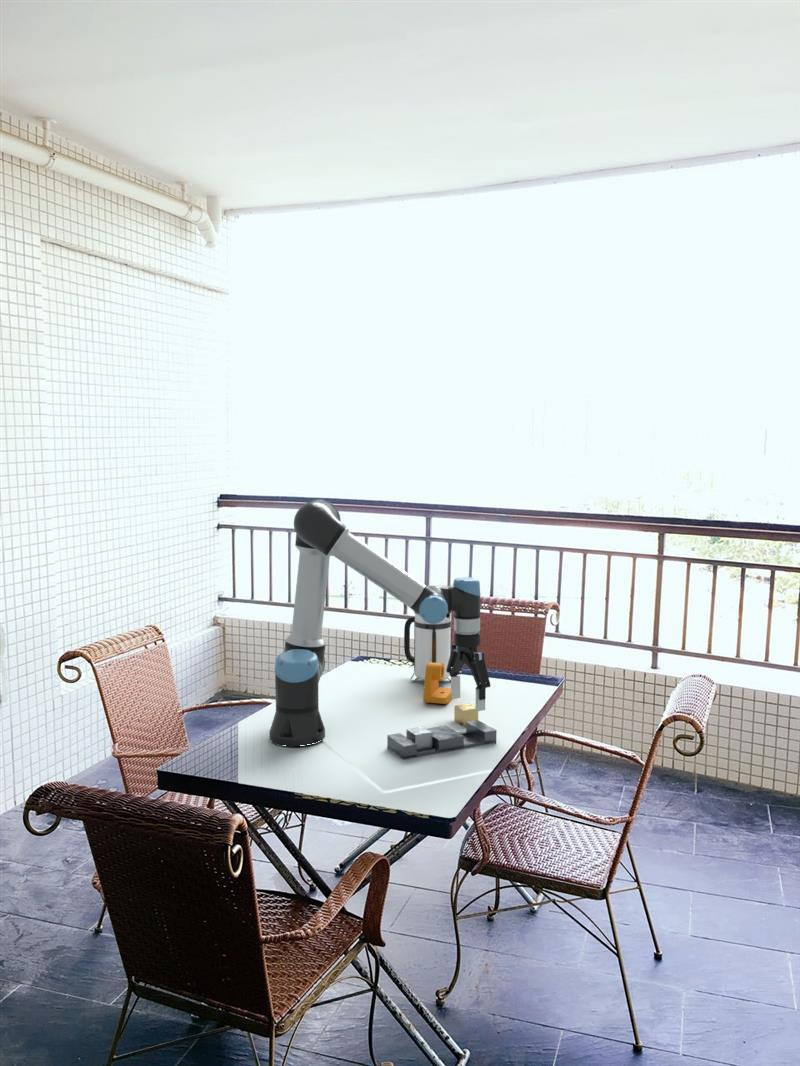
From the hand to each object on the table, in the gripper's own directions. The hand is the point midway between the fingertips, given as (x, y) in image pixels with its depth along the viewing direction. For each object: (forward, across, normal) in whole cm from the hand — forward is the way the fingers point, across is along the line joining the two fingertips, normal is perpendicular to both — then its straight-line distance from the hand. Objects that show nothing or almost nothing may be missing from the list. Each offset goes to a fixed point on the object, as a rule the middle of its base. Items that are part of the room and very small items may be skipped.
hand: (467, 704), depth 249 cm
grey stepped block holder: (+6, -14, +16) cm, 22 cm away
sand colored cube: (+6, 0, 0) cm, 6 cm away
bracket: (+6, +23, -4) cm, 24 cm away
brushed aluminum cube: (+5, -14, +23) cm, 28 cm away
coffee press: (+6, +44, -12) cm, 46 cm away
